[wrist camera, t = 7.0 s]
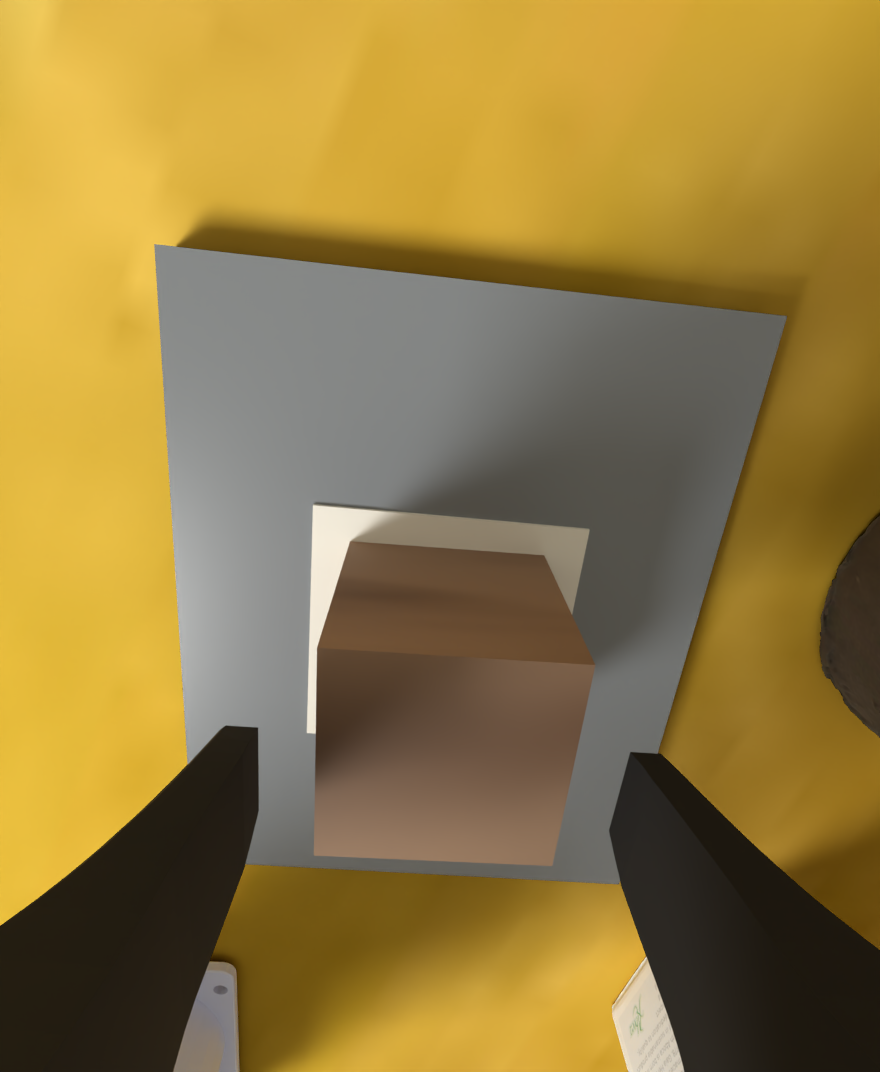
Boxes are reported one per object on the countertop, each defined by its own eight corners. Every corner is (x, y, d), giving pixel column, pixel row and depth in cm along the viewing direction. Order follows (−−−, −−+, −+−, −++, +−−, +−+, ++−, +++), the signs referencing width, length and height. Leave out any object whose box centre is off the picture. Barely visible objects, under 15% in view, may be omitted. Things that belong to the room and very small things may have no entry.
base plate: (610, 858, 21) (619, 886, 20) (204, 835, 20) (192, 864, 19) (763, 315, 14) (789, 316, 13) (172, 248, 14) (152, 243, 13)
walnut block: (517, 713, 17) (552, 866, 13) (344, 703, 17) (313, 855, 12) (544, 555, 15) (595, 665, 11) (349, 541, 15) (316, 647, 11)
